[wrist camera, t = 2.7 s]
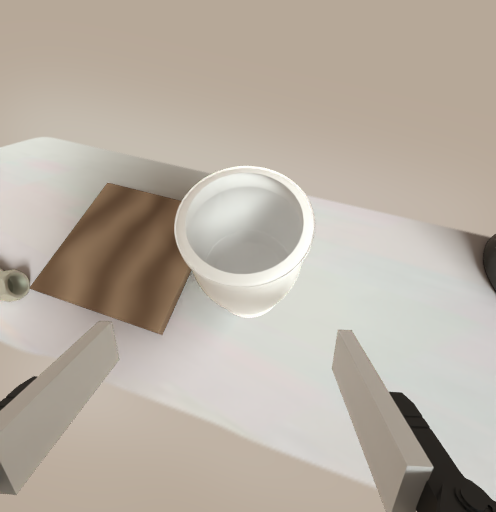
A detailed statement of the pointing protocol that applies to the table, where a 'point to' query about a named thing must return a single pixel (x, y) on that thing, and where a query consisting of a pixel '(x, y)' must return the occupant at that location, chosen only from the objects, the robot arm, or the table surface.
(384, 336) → the table surface
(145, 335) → the table surface
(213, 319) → the table surface
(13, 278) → the pipe fitting
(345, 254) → the table surface
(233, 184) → the jar
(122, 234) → the walnut board
